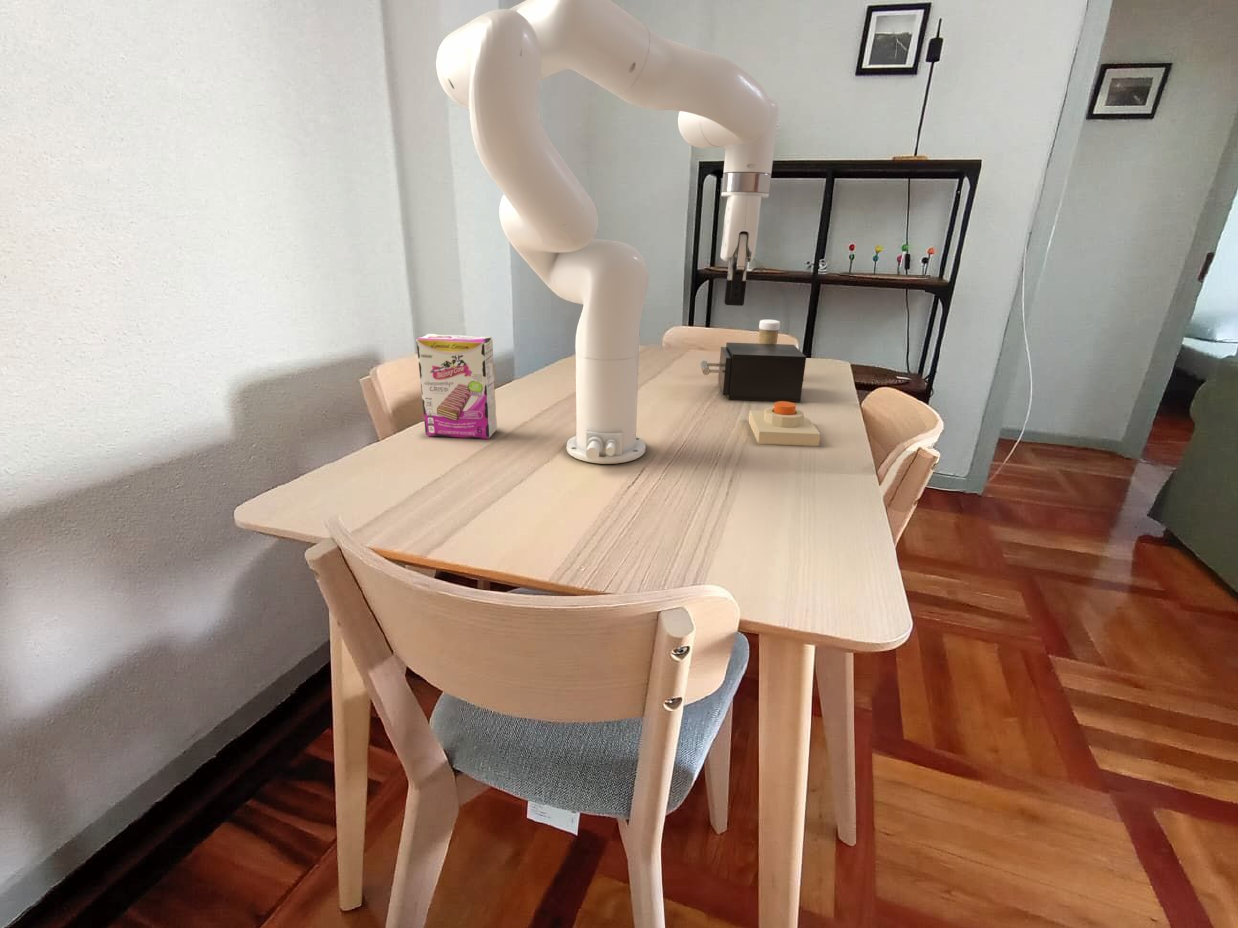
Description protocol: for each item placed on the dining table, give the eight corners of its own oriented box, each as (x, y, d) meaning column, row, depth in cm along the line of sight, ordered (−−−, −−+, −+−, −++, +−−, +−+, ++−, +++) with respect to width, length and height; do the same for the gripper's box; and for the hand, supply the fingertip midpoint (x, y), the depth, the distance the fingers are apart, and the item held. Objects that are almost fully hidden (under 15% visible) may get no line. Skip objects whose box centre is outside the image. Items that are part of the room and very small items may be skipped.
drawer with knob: (701, 394, 126) (704, 357, 123) (698, 380, 137) (701, 346, 134) (788, 397, 125) (793, 360, 122) (778, 383, 136) (783, 348, 133)
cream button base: (818, 446, 101) (822, 423, 100) (757, 443, 102) (760, 421, 100) (803, 423, 112) (806, 402, 111) (748, 421, 113) (750, 400, 111)
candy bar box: (424, 437, 102) (413, 338, 95) (435, 427, 106) (426, 332, 100) (490, 440, 101) (483, 341, 95) (498, 430, 105) (492, 335, 99)
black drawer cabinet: (728, 400, 126) (732, 354, 122) (722, 385, 137) (726, 342, 134) (800, 403, 125) (806, 356, 121) (788, 387, 137) (793, 344, 133)
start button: (796, 417, 104) (798, 407, 103) (775, 416, 104) (776, 406, 103) (792, 411, 107) (793, 401, 107) (771, 410, 107) (773, 400, 107)
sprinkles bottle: (752, 379, 143) (758, 321, 138) (755, 375, 147) (761, 318, 142) (772, 381, 141) (779, 322, 136) (774, 377, 145) (781, 319, 140)
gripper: (719, 189, 105) (709, 299, 111) (725, 183, 91) (714, 309, 97) (763, 190, 104) (751, 301, 111) (776, 185, 90) (761, 311, 97)
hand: (733, 304), depth 104 cm, fingers closed
